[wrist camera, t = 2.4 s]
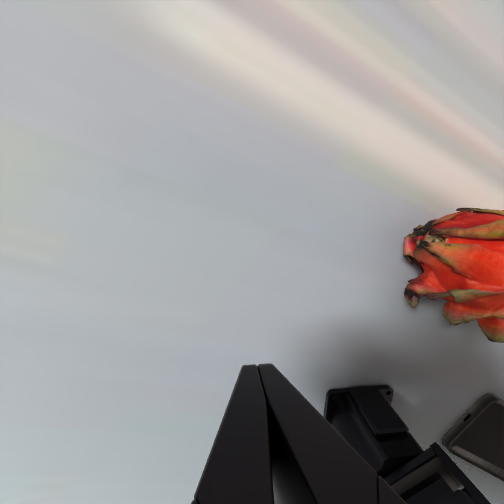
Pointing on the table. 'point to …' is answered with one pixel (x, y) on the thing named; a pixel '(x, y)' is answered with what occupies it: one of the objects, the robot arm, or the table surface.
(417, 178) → the table surface
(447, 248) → the dragon fruit
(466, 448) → the phone
